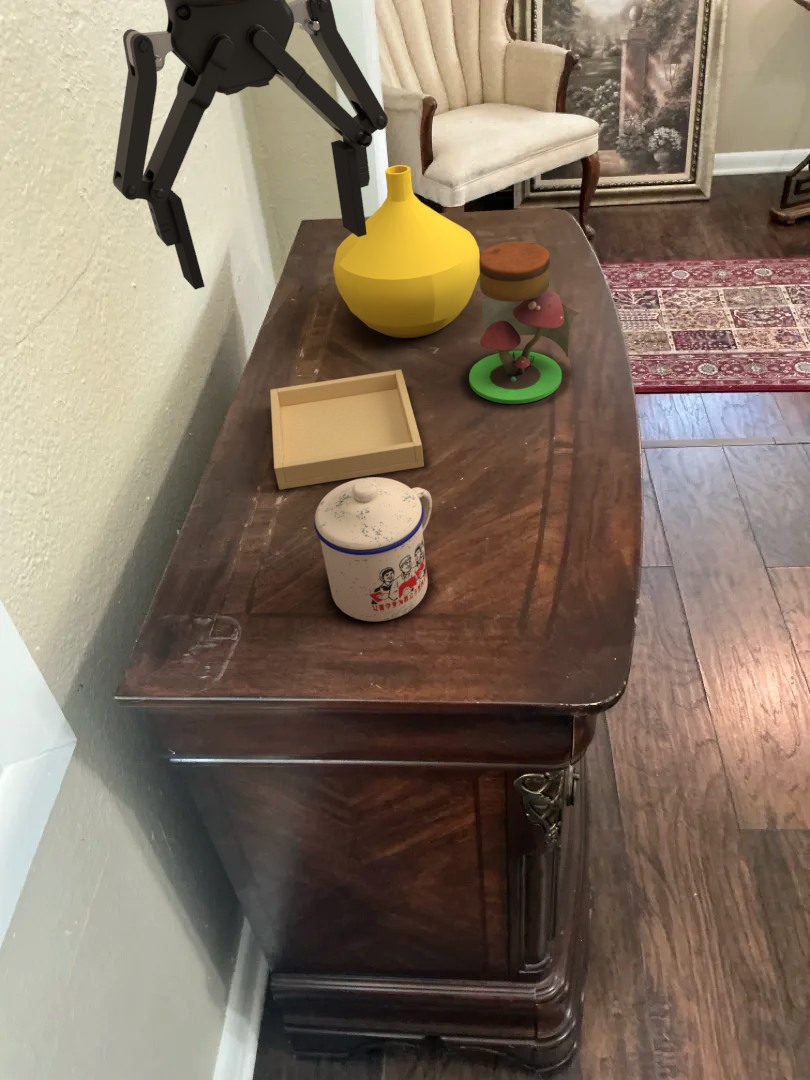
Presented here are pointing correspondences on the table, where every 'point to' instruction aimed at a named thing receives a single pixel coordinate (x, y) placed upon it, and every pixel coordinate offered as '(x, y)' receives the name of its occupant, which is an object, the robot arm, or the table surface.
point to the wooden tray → (343, 429)
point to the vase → (407, 265)
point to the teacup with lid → (374, 546)
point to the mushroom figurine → (518, 324)
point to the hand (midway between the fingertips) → (277, 255)
